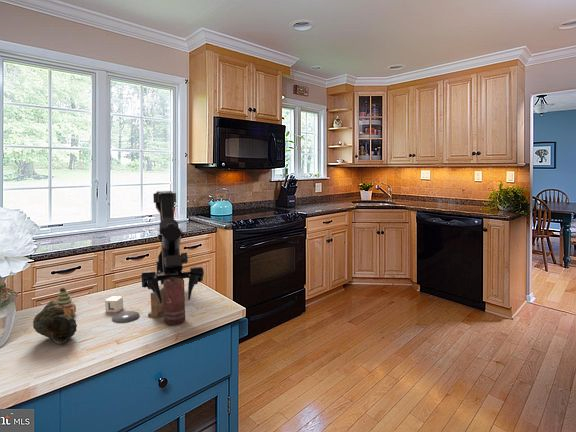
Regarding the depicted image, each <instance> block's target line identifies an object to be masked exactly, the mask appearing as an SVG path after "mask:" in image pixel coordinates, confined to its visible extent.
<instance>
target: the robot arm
mask: <svg viewBox="0 0 576 432" xmlns="http://www.w3.org/2000/svg"><path fill="white" fill-rule="evenodd" d="M152 195H153V203H154V204H155V208H156V209H155V210H157V212H158V213H159V216H160V217H159V219H160V222H159V223H158V224H159V225H158V226H159V228H158V229H157V240H159V242H160V243H161V250H160V251H159V252H160V253H158V256H157V260H156V261H155V262H156V263H155V265H156V268H155V269H156V270H149V271H148V270H147V271H142V272H141V275H140V276H141V287H142V288H147V289H148V290H151V292H154V293H155V295H156V297H157V299H158V301H159V303H160V304H161V294H160V289H159V286H160V285H162V284H163V282H164V279H165V278H167V277H171V276H180V277H183V280H184V279H188V282H187V283H188V284H187V299H188V301H190V300H191V297H192V292H193V289H194V287H195V285H198V283H201V282H203V279H204V275H205V271H204V267H203V266H194V267H192V266H191V267H190V269H189V271H185V272H183V265H184V264H188V262H189V261H188V259H189V258H188V253H187V252H181V249H180V247H181V239H183V237H184V236H185V235H184V232H183V230H182V228H179V222H178V221H177V220H176V219H175V217H174V216H175V214H174V207H175V203H177V192H173V190H156V192H155V193H153V194H152ZM159 282H160V284H159Z"/></svg>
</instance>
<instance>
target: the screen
mask: <svg viewBox="0 0 576 432" xmlns="http://www.w3.org/2000/svg"><path fill="white" fill-rule="evenodd" d="M159 289H160V294H161V304H160V303H159V301H158V299H157V297H156V295H155V293H154V292H153V291H151V292H150V310H151V311H149V312H148V313H147V317H148V318H149V317H150V318H162V317H163V316H164V287H163V284H162V285H161V284H159Z"/></svg>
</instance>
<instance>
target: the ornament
mask: <svg viewBox="0 0 576 432" xmlns="http://www.w3.org/2000/svg"><path fill="white" fill-rule="evenodd" d="M52 300H53V301H54V302H55V303H57V304H58V305H59V306H61V307H62V308H64V312H65V313H64V315H68V316H71V317H72V318H73V319H74V316H75V315H76V312H77V306H76V304H75V303H74V301H73V298H72V297H71V294H69V292H68V291H67V289H66V288H64V287H62V288H59V292H58V296H57V297H56V298H53V299H51V300H50V301H52ZM72 301H73V302H72Z"/></svg>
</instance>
